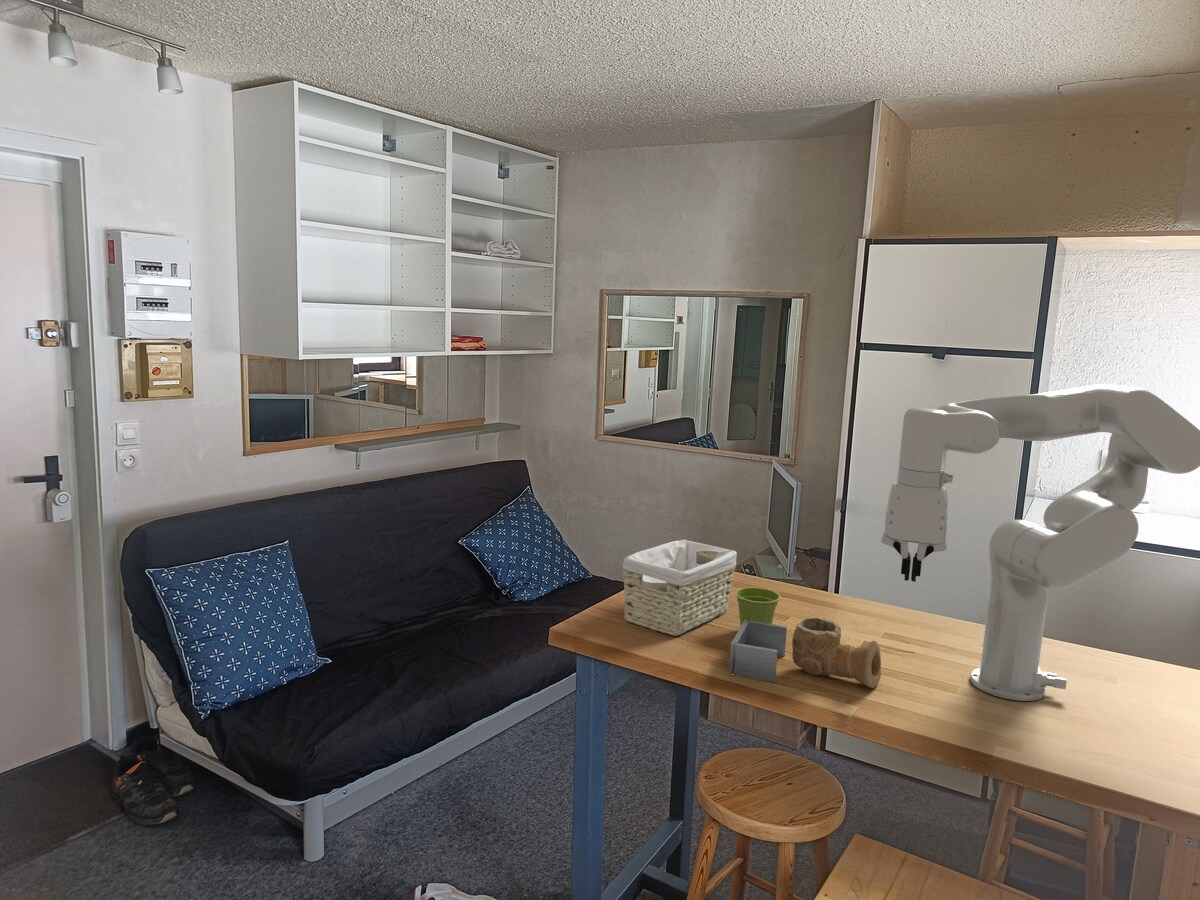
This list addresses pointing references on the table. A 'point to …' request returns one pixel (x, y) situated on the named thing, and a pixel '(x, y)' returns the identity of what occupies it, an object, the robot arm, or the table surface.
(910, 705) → the table surface
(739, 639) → the gray channel bracket
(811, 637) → the pipe
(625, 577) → the storage basket
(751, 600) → the plant pot
